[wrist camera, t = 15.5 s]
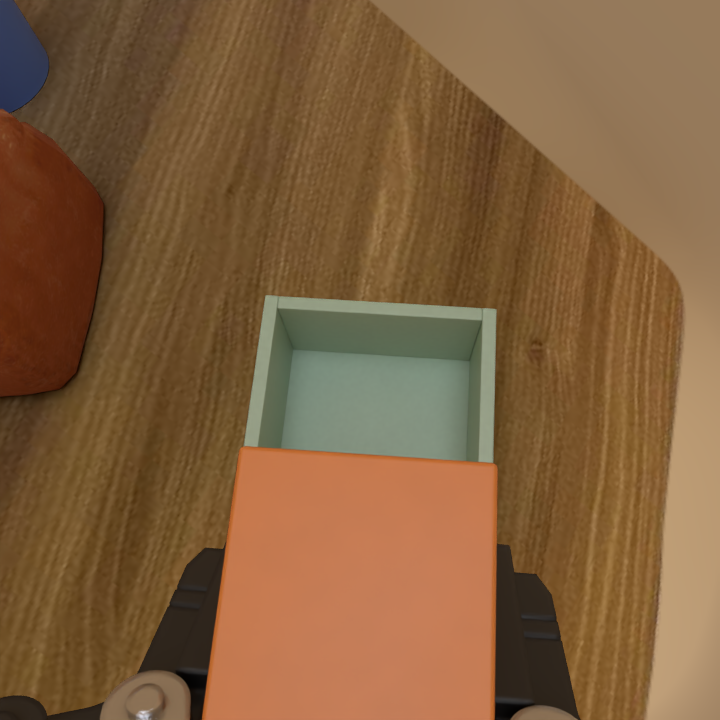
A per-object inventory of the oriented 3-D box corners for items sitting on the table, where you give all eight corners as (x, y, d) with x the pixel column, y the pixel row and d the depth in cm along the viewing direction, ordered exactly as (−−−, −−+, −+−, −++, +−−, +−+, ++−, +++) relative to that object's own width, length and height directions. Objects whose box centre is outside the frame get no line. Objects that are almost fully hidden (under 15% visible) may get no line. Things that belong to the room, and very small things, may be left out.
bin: (480, 354, 47) (496, 308, 40) (474, 560, 42) (491, 550, 35) (284, 341, 48) (265, 295, 41) (258, 541, 43) (231, 528, 36)
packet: (449, 530, 20) (498, 462, 10) (439, 812, 17) (492, 1054, 8) (312, 520, 20) (238, 444, 11) (284, 795, 18) (159, 1009, 8)
